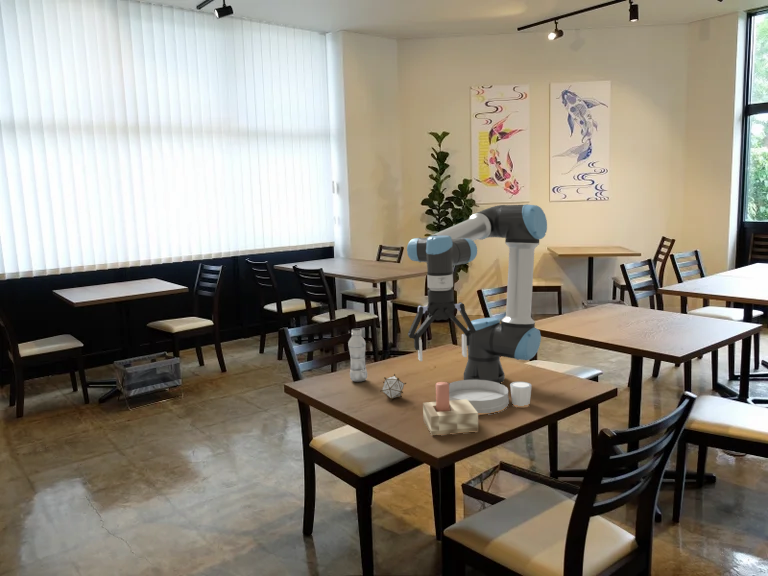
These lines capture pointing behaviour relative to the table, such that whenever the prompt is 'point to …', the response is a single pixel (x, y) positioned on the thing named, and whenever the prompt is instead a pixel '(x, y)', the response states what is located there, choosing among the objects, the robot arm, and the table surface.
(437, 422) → the birch block
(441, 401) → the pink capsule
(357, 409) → the table surface
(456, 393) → the dish
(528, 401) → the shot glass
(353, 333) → the plastic bottle
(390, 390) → the game die
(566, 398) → the table surface
